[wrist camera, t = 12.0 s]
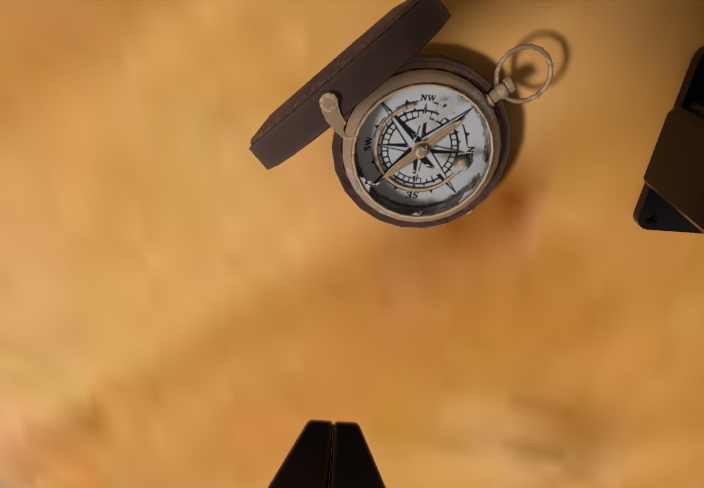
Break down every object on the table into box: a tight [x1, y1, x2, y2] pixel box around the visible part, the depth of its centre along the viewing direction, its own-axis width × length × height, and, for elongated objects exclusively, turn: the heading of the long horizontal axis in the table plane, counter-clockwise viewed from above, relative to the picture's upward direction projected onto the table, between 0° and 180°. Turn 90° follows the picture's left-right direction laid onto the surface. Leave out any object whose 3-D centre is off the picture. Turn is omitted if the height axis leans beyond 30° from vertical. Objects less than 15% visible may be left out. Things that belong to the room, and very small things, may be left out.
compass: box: [249, 0, 553, 228], centre depth 15 cm, size 8×8×7 cm
